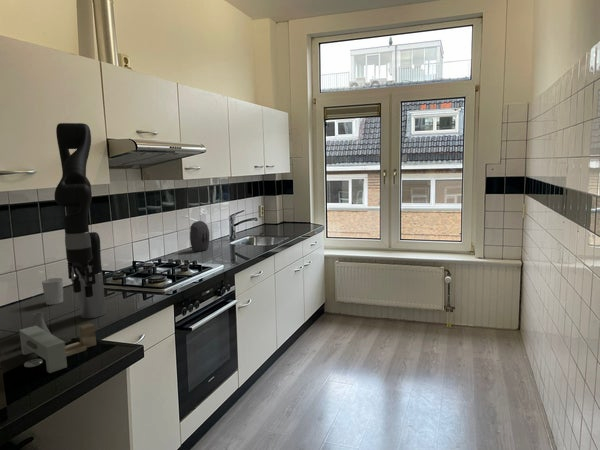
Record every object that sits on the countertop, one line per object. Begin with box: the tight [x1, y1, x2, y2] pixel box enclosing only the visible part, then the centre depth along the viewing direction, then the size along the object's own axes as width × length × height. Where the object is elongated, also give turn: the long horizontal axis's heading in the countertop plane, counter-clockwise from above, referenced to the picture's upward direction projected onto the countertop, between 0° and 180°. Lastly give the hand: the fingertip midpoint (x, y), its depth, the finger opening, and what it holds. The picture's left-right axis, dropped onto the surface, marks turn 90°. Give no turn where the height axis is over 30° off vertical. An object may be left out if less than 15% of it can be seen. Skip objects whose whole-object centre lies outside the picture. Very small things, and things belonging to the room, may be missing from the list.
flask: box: [32, 311, 52, 334], centre depth 159 cm, size 7×7×10 cm
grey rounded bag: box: [189, 220, 211, 252], centre depth 304 cm, size 15×8×20 cm, turn 150°
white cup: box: [41, 277, 64, 306], centre depth 202 cm, size 8×8×10 cm
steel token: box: [23, 358, 44, 368], centre depth 142 cm, size 5×5×1 cm
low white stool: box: [18, 325, 68, 374], centre depth 144 cm, size 22×6×8 cm, turn 49°
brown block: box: [65, 322, 97, 358], centre depth 151 cm, size 6×12×7 cm, turn 139°
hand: (83, 294), depth 152 cm, fingers open, 8 cm apart
